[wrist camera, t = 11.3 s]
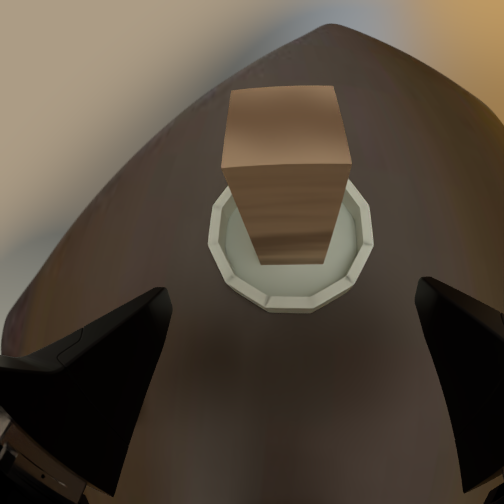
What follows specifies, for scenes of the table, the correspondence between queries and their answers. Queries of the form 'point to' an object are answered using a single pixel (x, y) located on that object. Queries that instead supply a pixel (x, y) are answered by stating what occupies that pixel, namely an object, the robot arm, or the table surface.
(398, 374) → the table surface
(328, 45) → the table surface
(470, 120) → the table surface
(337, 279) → the round tray
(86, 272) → the table surface
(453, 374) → the robot arm
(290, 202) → the walnut block
